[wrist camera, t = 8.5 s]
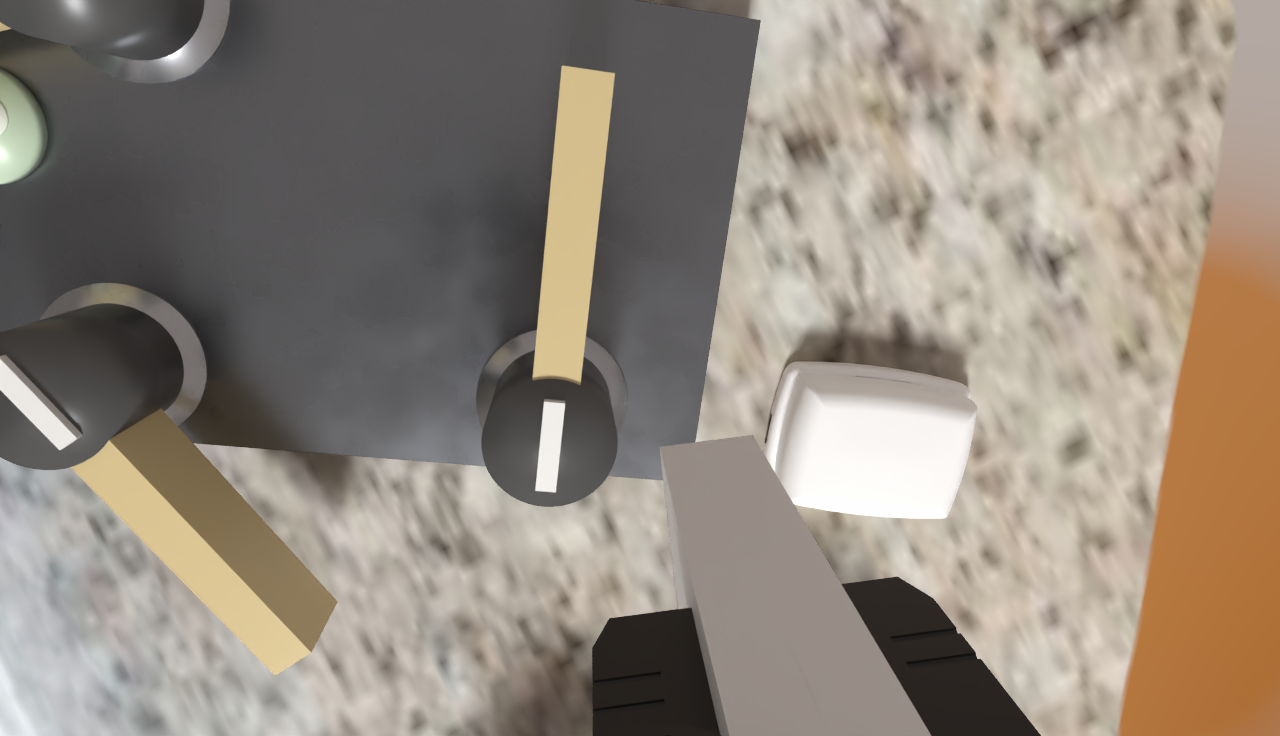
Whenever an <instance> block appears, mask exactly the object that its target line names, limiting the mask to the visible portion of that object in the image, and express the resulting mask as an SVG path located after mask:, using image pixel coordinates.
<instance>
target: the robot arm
mask: <svg viewBox="0 0 1280 736" xmlns="http://www.w3.org/2000/svg"><path fill="white" fill-rule="evenodd" d="M660 456H661V465H662V474H663V483H664V492H665V501H666V510H667V519H668V528H669V537H670V546H671V555H672V564H673V574H674V583H675V592H676V599H677V604H678V609H676V610H669V611H662V612H654V613H647V614H639V615H632V616H624V617H617V618H609V620H608V622H607V624H606V625H605V627H604V629H603V631H602V632H601V634H600V636H599V637H598V639H597V641H596V643H595V644H594V646H593V648H592V670H593V736H1041V735H1040V734H1039V733H1038V731H1037V730H1036V729H1035V727H1034V726H1033V725H1032V724H1031V722H1030V721H1029V720H1028V719H1027V717H1026V716H1025V715H1024V713H1023V712H1022V711H1021V710H1020V708H1019V707H1018V706H1017V705H1016V703H1015V702H1014V701H1013V699H1012V698H1011V697H1010V696H1009V694H1008V693H1007V692H1006V691H1005V689H1004V688H1003V687H1002V685H1001V684H1000V683H999V682H998V680H997V679H996V678H995V677H994V675H993V674H992V673H991V671H990V670H989V669H988V668H987V666H986V665H985V664H984V663H983V661H982V660H981V659H977V657H976V652H975V651H974V650H973V649H972V647H971V646H970V645H969V643H968V642H967V641H966V640H965V638H964V637H963V636H962V635H961V633H960V634H958V633H957V631H956V627H955V626H954V624H953V623H952V622H951V620H950V619H949V618H948V617H947V615H946V614H945V613H944V612H943V610H942V609H941V608H940V606H939V605H938V604H937V603H936V601H935V600H934V599H933V598H931V597H930V596H928V595H927V594H925V593H923V592H922V591H920V590H918V589H917V588H915V587H914V586H912V585H910V584H909V583H907V582H905V581H904V580H902V579H900V578H899V577H892V578H885V579H877V580H870V581H862V582H855V583H847V584H841V583H840V581H839V579H838V578H837V576H836V574H835V573H834V571H833V569H832V568H831V566H830V564H829V563H828V561H827V559H826V558H825V556H824V554H823V553H822V551H821V549H820V548H819V546H818V544H817V542H816V541H815V539H814V537H813V536H812V534H811V532H810V531H809V529H808V527H807V526H806V524H805V522H804V521H803V519H802V517H801V516H800V514H799V512H798V510H797V509H796V507H795V505H794V504H793V502H792V500H791V499H790V497H789V495H788V494H787V492H786V490H785V489H784V487H783V485H782V484H781V482H780V480H779V479H778V477H777V475H776V473H775V472H774V470H773V468H772V467H771V465H770V463H769V462H768V460H767V458H766V457H765V455H764V453H763V452H762V450H761V448H760V447H759V445H758V443H757V442H756V440H755V438H754V436H753V435H749V436H742V437H734V438H726V439H718V440H710V441H702V442H694V443H686V444H679V445H671V446H663V447H660Z"/></svg>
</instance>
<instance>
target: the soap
mask: <svg viewBox="0 0 1280 736" xmlns="http://www.w3.org/2000/svg"><path fill="white" fill-rule="evenodd" d="M856 376H857V377H856ZM908 382H909V383H908ZM976 412H977V406H976V404H975V403H974V402H973V401H972V400H971V393H970V390H969V389H968V387H966V386H965V385H963V384H962V383H960V382H957V381H953V380H949V379H945V378H941V377H937V376H933V375H928V374H923V373H918V372H913V371H907V370H901V369H895V368H888V367H880V366H872V365H863V364H852V363H836V362H803V361H797V362H792V363H790V364H789V365H788V366H787V367H786V368H785V370H784V372H783V375H782V377H781V380H780V383H779V386H778V389H777V392H776V395H775V398H774V402H773V405H772V409H771V414H772V418H771V422H770V427H769V432H768V437H767V442H766V443H765V442H764V449H763V453H764V455H765V457H766V458H767V460H768V462H769V463H770V465H771V467H772V468H773V470H774V472H775V473H776V475H777V477H778V479H779V480H780V482H781V484H782V485H783V487H784V489H785V490H786V492H787V494H788V495H789V497H790V499H791V500H792V502H793V504H795V505H799V506H804V507H810V508H815V509H821V510H827V511H834V512H841V513H849V514H857V515H867V516H878V517H894V518H922V519H924V518H946V517H947V516H948V514H949V511H950V509H951V507H952V504H953V502H954V499H955V496H956V494H957V491H958V489H959V486H960V483H961V480H962V477H963V474H964V470H965V467H966V463H967V459H968V456H969V451H970V447H971V442H972V437H973V432H974V426H975V420H976Z"/></svg>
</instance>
